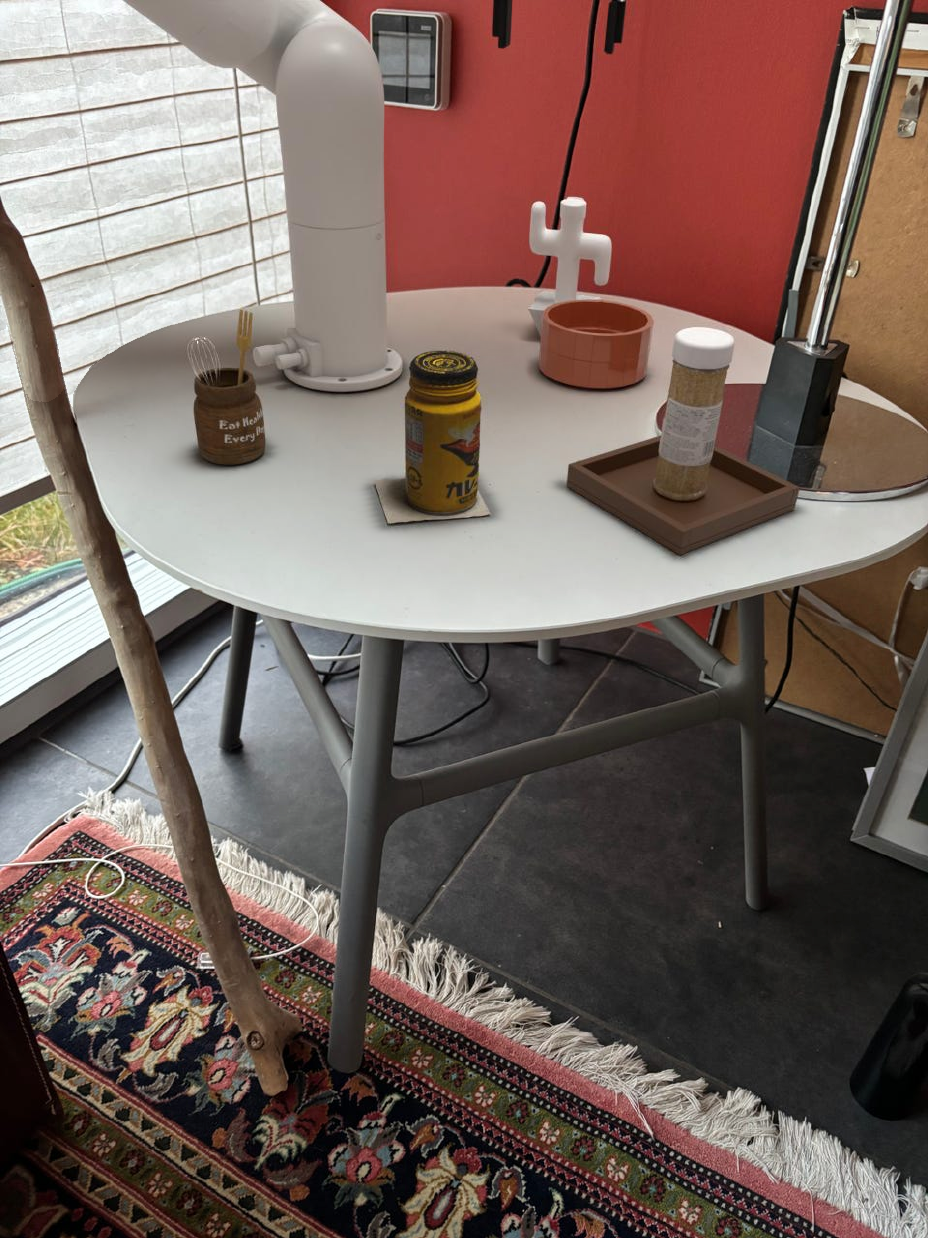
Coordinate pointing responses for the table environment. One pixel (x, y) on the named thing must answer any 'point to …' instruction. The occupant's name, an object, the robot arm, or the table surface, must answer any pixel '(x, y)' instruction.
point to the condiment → (438, 443)
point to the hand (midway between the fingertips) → (556, 49)
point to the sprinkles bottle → (692, 411)
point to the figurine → (567, 253)
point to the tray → (681, 526)
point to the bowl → (595, 343)
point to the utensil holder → (229, 408)
